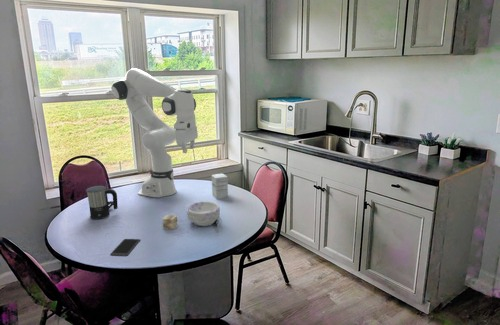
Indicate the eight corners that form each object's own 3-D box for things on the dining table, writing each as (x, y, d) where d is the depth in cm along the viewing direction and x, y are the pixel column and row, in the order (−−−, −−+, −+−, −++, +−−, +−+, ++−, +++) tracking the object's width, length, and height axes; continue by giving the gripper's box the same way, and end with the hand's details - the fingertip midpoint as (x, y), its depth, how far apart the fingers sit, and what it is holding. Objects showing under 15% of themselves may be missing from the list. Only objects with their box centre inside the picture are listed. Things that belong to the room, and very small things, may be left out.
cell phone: (109, 256, 140) (109, 254, 140) (124, 240, 154) (124, 238, 153) (127, 256, 140) (127, 255, 139) (141, 240, 153) (140, 238, 153)
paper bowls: (214, 230, 161) (214, 214, 159) (183, 227, 164) (182, 211, 162) (223, 216, 176) (223, 202, 174) (195, 214, 179) (194, 200, 177)
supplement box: (212, 195, 206) (211, 174, 203) (223, 193, 209) (223, 172, 206) (216, 199, 200) (215, 178, 197) (228, 197, 203) (227, 176, 200)
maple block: (163, 228, 163) (162, 218, 162) (167, 224, 168) (167, 214, 167) (173, 229, 162) (172, 219, 161) (177, 225, 167) (177, 215, 166)
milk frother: (92, 221, 172) (89, 192, 168) (83, 211, 184) (80, 185, 180) (121, 213, 181) (118, 186, 177) (111, 205, 193) (108, 179, 189)
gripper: (188, 120, 182) (190, 146, 185) (172, 126, 162) (174, 155, 166) (199, 120, 180) (201, 146, 184) (184, 126, 161) (187, 155, 164)
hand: (188, 150), depth 175 cm, fingers open, 8 cm apart
